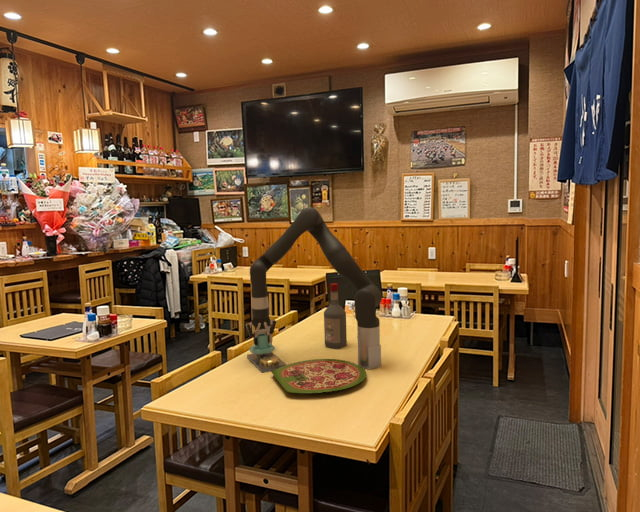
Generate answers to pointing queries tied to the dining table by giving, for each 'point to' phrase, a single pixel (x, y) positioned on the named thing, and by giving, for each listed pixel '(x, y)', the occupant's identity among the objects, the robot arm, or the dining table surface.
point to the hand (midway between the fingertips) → (261, 344)
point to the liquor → (335, 322)
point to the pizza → (319, 375)
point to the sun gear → (269, 361)
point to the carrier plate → (256, 361)
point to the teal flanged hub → (262, 345)
